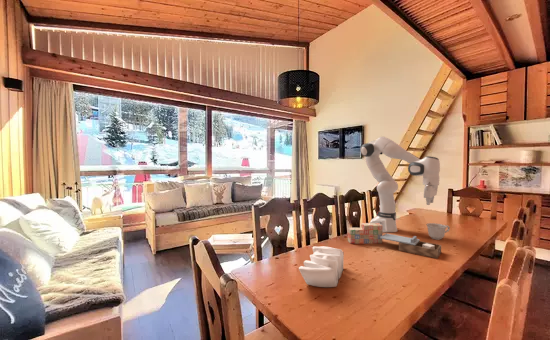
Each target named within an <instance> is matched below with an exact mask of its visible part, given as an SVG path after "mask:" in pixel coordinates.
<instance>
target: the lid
mask: <svg viewBox="0 0 550 340" xmlns="http://www.w3.org/2000/svg"><path fill="white" fill-rule="evenodd" d="M380 239H382V240H386V241H390V242H391V241H392V242H396V243H399V242H401V243H406V244H411V245H416V244H417V243H418V242H419V241H421V240H420V239H419V238H418V237H417V236H416V235H413V236H412V237H407V236H402V235H397V234H390V233H383V234H382V236H381V237H380Z"/></svg>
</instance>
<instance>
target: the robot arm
mask: <svg viewBox="0 0 550 340" xmlns="http://www.w3.org/2000/svg"><path fill="white" fill-rule="evenodd" d="M359 151H360V154H361V155H362V156H363V157H365V158H364V161H365V162H366V165H367V167H368V169H369V171H370V173H371V175H372V176H373V178H374V179H375V180H376V181H377V183H378V184H377V185H376V191H377V192H378V197H379V210H378V211H377V212H376V214H377V215H376V216H375V217H373V218H372V219H371V220H370V222H369V223H379V224H381V225H382V230H383V233H396V232H398V227H397V221H396V220H397V212H396V201H395V196H394V193H396V192H397V191H398V189H399V184H398V182H396V180H395V178H393V176H392V175H391V174H390V173H389V171H388V170H387V168H386V167H385V165H384V163H383V161H382V160H381V158H380V155H385V157H386V156H387V157H388V158H390V159H393V160H394V159H396V160H402V161H405V162H407V163H408V167H407V171H408V173H409V174H410V175H411V176H413V177H417V176H418V177H422V185H424V187H423V198H424V199H425V200H426V201H425V202H426V206H427V205H428V206H429V205H431V204H432V203H434V199H435V196H437V193H438V188H439V186H440V171H441V162H440V161H441V160H440V159H439V158H438V157H436V156H429V155H427V156H424V157H423V158H422V159H421V158H419V157H418V156H416V155H415V154H413V153H411V152H410V151H407V150H406V149H405V148H404V147H402V146H401V145H399V144H398V143H397V142H395V141H394V140H392V139H390V138H388V137H386V136H379V137H378V138H376V139H375V140H374V139H373V140H371V141H369V142H367V143H364V144H362V145H361V146H360V150H359Z"/></svg>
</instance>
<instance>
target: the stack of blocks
mask: <svg viewBox="0 0 550 340" xmlns="http://www.w3.org/2000/svg"><path fill="white" fill-rule="evenodd" d="M383 234H384V232H383V230H382V225H381V224H379V223H370V222H365V223H364V222H362V223H361V222H360V227H347V242H348V243H350V244H383V239H380V237H381V236H383Z"/></svg>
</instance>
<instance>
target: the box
mask: <svg viewBox="0 0 550 340" xmlns="http://www.w3.org/2000/svg"><path fill="white" fill-rule="evenodd" d="M427 243H428V244H431V245H434V246H435V250H434V249H429V248H424V247H422V245H423V244H427ZM398 251H399V252H404V253H408V254H413V255H417V256H422V257H426V258H431V259H432V258H433V259H436V260H437V259H439V257H440V256H441V254H442V244H437V243H433V242H426V241H421V240H420V241H419V242H418V243H417V244H416V245H411V244H406V243H401V242H398Z"/></svg>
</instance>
